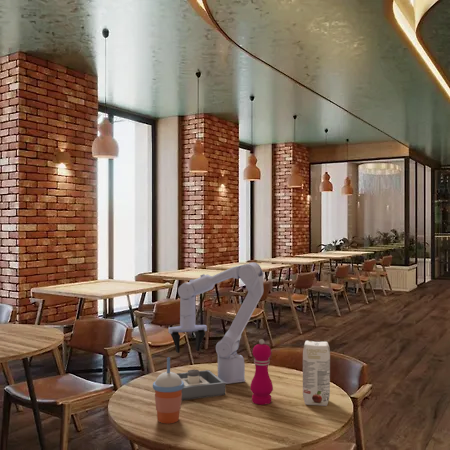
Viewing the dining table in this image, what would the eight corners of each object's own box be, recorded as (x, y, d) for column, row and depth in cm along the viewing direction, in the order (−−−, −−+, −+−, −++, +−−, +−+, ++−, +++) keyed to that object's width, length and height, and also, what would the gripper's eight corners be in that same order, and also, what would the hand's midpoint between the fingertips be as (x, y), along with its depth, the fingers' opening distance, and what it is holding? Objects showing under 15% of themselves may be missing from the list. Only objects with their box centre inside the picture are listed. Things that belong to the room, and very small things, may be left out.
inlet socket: (201, 383, 178) (201, 376, 178) (209, 391, 171) (209, 383, 171) (178, 386, 175) (178, 379, 175) (185, 394, 167) (185, 386, 167)
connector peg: (199, 386, 175) (199, 369, 175) (198, 390, 171) (198, 373, 171) (188, 386, 175) (188, 369, 175) (187, 390, 171) (187, 372, 171)
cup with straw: (146, 422, 145) (146, 359, 145) (164, 411, 153) (164, 352, 153) (172, 428, 141) (172, 363, 141) (189, 417, 149) (190, 356, 149)
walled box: (208, 381, 183) (208, 370, 183) (225, 394, 169) (225, 382, 169) (163, 386, 177) (163, 374, 177) (176, 401, 162) (176, 388, 162)
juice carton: (329, 407, 157) (330, 346, 157) (302, 405, 159) (302, 344, 159) (329, 399, 165) (330, 340, 165) (303, 397, 167) (303, 339, 167)
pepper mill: (271, 406, 158) (271, 342, 158) (248, 404, 160) (248, 341, 160) (273, 398, 165) (274, 337, 165) (252, 396, 167) (252, 336, 167)
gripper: (202, 311, 195) (202, 347, 195) (166, 314, 190) (165, 350, 190) (208, 314, 189) (208, 351, 189) (171, 317, 183) (171, 354, 183)
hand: (187, 351), depth 189 cm, fingers open, 7 cm apart
